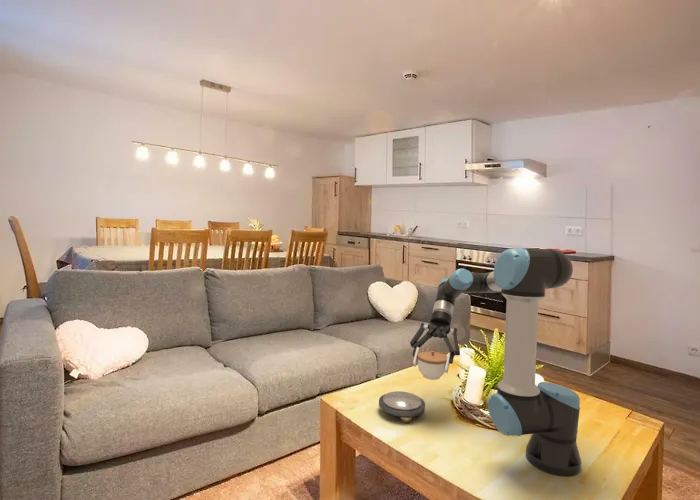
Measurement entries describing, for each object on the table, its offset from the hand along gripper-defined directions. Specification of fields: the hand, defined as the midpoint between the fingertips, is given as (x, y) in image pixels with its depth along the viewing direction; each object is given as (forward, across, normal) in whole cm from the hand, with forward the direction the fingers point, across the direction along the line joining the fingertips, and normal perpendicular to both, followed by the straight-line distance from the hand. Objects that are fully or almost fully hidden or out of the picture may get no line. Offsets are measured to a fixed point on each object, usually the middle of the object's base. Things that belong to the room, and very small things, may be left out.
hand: (430, 368), depth 149 cm
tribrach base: (+13, +10, -14) cm, 21 cm away
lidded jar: (+1, 0, -5) cm, 5 cm away
